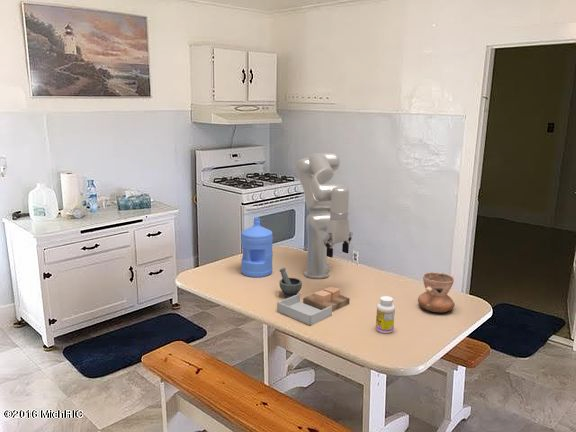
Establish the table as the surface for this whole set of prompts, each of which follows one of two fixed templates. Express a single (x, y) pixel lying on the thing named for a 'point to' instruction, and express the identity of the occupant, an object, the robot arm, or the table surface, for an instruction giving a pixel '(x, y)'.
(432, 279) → the ceramic jug
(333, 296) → the tile
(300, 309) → the tray
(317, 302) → the board
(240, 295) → the table surface
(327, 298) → the tile
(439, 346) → the table surface
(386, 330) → the supplement bottle
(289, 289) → the mortar and pestle
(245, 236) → the water jug
